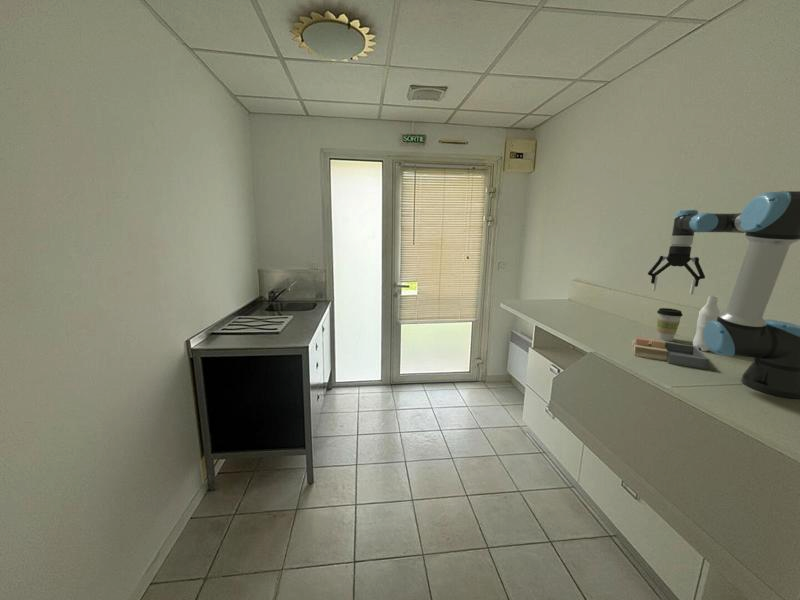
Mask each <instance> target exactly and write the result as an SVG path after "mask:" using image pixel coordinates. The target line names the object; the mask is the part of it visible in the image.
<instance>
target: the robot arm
mask: <svg viewBox="0 0 800 600" xmlns="http://www.w3.org/2000/svg"><path fill="white" fill-rule="evenodd" d="M695 233H733V234H734V233H736V234H744V237H746V239H747V240H748V241H749V242H748V245H747V249H746V251H745V255H744V257H743V261H742V263H741V266H740V270H739V273H738V274H737V278H736V281H735V284H734V287H733V290H732V293H731V295H730V299H729V302H728V305H727V308H726V310H725V311H722V312H720V314H719V315H718V318H717V321H710V322H708V323H707V324H706V325H705V328H704V340H705V342H706V345H707V346H708V348H709V349H710V350H711V351H710V352H712V353H714V354H716V355H721V356H727V357H739V358H749V359H753V361H752V363H751V364H749V366H748V367H747V368H746V370H745V371H744V372H743V374H742V375H741V379H740V380H741V381H740V382H741V383H742V384H743V385H744V386H746V387H749V388H751V389H753V390H755V391H760V392H762V393H765V394H769V395H771V396H772V395H773V396H776V397H781V398H788V399H798V400H800V325H798V324H796V323H790V322H786V321H783V320H782V321H780V320H777V319H776V320H775V319H771V318H769V319H766V318H765V319H764V317H763V316H764V314H765V311H766V309H767V306H768V304H769V302H770V299H771V296H772V293H773V290H774V289H775V285H776V282H777V280H778V277H779V275H780V272H781V270H782V267H783V265H784V262H785V259H786V257H787V254H788V251H789V249H790V246H791V245H792V244H794V243H797V242H798V241H800V191H799V190H798V191H797V190H795V191H792V190H791V191H789V190H786V191H785V190H782V191H770V192H764V193H761V194H758V195H756V196H754V198H753V199H751V200H749V202H747V204H746V205H745V207H744V208H743V210H742V211H741V212H739V213H711V212H710V213H709V212H701V213H699V211H698V210H696V209H682V210H681V209H680V210H677V211H676V213H675V216H674V219H673V228H672V234H671V240H670V246H669V250H668V254H667V256H664V255H659V257H658V260H657V261H656V262H655V263H654V265H653V266H652V267H651V268H650V270H649V271H648V272H647V275H649V276H651V279H650V283H651V284H652V291H653V292H656V289H657V288H656V287H657V283H658V275H660V274H661V273H662V272H663V271H665V270H666V269H667V268H669V267H670V266H671V267H679V268H681V267H684V268H685V269H686V270H687V271H688V272H689V273H690V274H691V276H692V277H693V279H691V285H690V289H689V294H690V295H694V292H695V288H697V287H698V286H699V283H700V282H699V281H700V280H702V279H703V280H705V279H706V276H705V273H704V271H703V268H702V266H701V264H700V258H699V257H698V256H695V257H691V253H692V245H693V241H694V236H695ZM665 260H667V263H665V264H664V265H663V266H662V267H660V268H659V269H658V270H657V268H658V267H659V266H660V265H661V264H662V262H664V261H665ZM689 262H692V263H694V266H695V268H696V270H697V273H698V274H697V273H696V272H695V271H694V269H693V268H692V267H691V266H690V265H689ZM655 270H656V271H655Z"/></svg>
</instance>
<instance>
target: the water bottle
mask: <svg viewBox="0 0 800 600" xmlns="http://www.w3.org/2000/svg"><path fill="white" fill-rule="evenodd" d="M718 298H719V296H718V295H710V294H709V295H708V298H707V299H706V301H707V302H706V304H705V305H703V306H702V308H701V309H700V310H699V312H698V317H697V321H696V332H695V335H694V338H693V340H692V346H696V347H697V348H698V349H699V350H700V349H701V350H700V351H701V352H712V351H711V350H710V349H709V348H708V346H707V345H706V342H705V340H704V328H705V325H706V324H707V323H708V322H710V321H717V318H718V315H719V314H720V313H721V311H720V309H719V307H718V303H719V300H718Z"/></svg>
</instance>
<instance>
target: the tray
mask: <svg viewBox="0 0 800 600" xmlns="http://www.w3.org/2000/svg"><path fill="white" fill-rule="evenodd" d="M664 342H665V348H666V349H667V351H668V356H667V361H666V362H667V364H670V365H677V366H683V367H688V368H696V369H700V370H701V369H702V370H707V369H708V366H709V363H710V362H709V361H710V359H708V357H707V356H706V355H705V354H704V353H703V351H702V350H700V349H698V348H697V347H696V346H693V345H689V344H681V343H674V342H670V341H664Z"/></svg>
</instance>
